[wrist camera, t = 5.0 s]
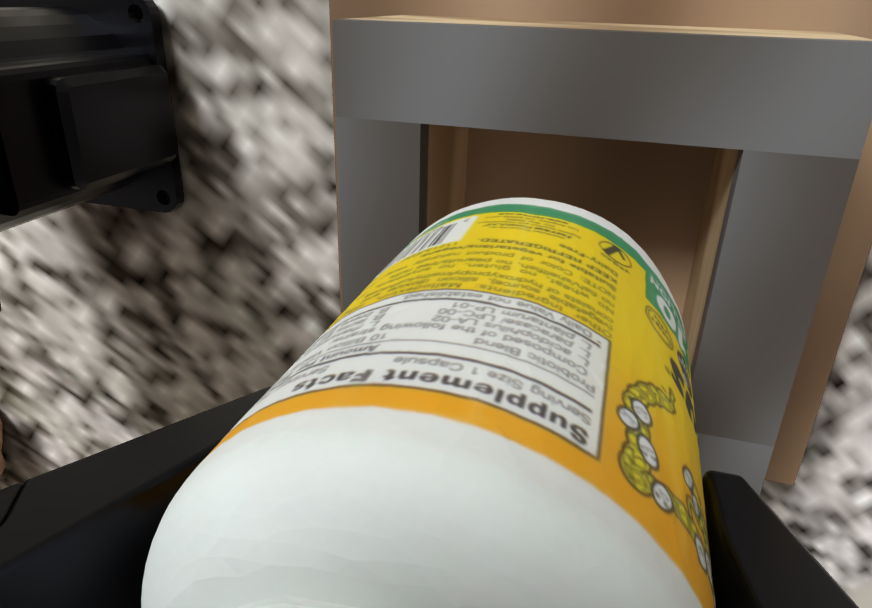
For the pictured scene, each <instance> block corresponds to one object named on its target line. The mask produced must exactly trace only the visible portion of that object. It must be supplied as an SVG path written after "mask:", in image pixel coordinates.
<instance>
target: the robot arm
mask: <svg viewBox="0 0 872 608" xmlns="http://www.w3.org/2000/svg"><path fill="white" fill-rule="evenodd" d="M138 7H140V8H141V9H142V12H143V19H142V21H141V20H140V18H139V16H138V14H137V10H138ZM165 191H166V192H167V193H168V194H169V197H170V201H169V200H168V199H167V198H166V197H165V194H164V193H165ZM82 202H89V203H96V204H104V205H112V206H119V207H127V208H135V209H143V210H150V211H158V212H172V211H174V210H176V209H178V208H180V207H181V206H182V205H183V203H184V191H183V184H182V177H181V169H180V162H179V155H178V145H177V138H176V131H175V123H174V116H173V109H172V101H171V94H170V87H169V79H168V74H167V67H166V60H165V53H164V45H163V38H162V31H161V24H160V16H159V12H158V8H157V6H156V4H155V3H154V1H153V0H0V232H1V231H4V230H6V229H9V228H12V227H15V226H18V225H20V224H23V223H26V222H29V221H32V220H34V219H37V218H40V217H43V216H46V215H48V214H51V213H54V212H57V211H60V210H62V209H65V208H68V207H71V206H74V205H76V204H79V203H82ZM0 311H1V304H0ZM271 387H272V386H271ZM271 387H267V388H265V389H262V390H260V391H257V392H254V393H252V394H249V395H247V396H244V397H241V398H239V399H236V400H234V401H231V402H229V403H226V404H223V405H221V406H218V407H216V408H213V409H210V410H208V411H205V412H203V413H200V414H197V415H195V416H192V417H190V418H187V419H184V420H182V421H179V422H177V423H174V424H171V425H169V426H166V427H164V428H161V429H158V430H156V431H153V432H151V433H148V434H146V435H143V436H140V437H138V438H135V439H133V440H130V441H127V442H125V443H122V444H120V445H117V446H114V447H112V448H109V449H107V450H104V451H101V452H99V453H96V454H94V455H91V456H88V457H86V458H83V459H81V460H78V461H75V462H73V463H70V464H68V465H65V466H63V467H60V468H57V469H55V470H52V471H50V472H47V473H44V474H42V475H39V476H37V477H34V478H31V479H29V480H27V481H26V482H25V484H24V485H23V484H22V483H18V484H15V485H13V486H10V487H8V488H5V489H3V490H0V608H141V596H142V583H143V577H144V571H145V565H146V561H147V558H148V554H149V551H150V547H151V543H152V540H153V538H154V536H155V533H156V531H157V529H158V526H159V524H160V522H161V519H162V517H163V515H164V513H165V511H166V509H167V507H168V505H169V504H170V502H171V501H172V499H173V497H174V496H175V494H176V493H177V492H178V490H179V489H180V488H181V486H182V485H183V483H184V482H185V481H186V480H187V478H188V477H189V476H190V475H191V473H192V472H193V471H194V470H195V469H196V467H197V466H198V465H199V464H200V463H201V462H202V461H203V460H204V459H205V458H206V457H207V456H208V454H209V453H210V452H211V451H212V450H213V449H214V448H215V447H216V446H217V445H218V444H219V443H220V442H221V440H222V439H223V438H224V437H225V436H226V435H227V434H228V433H229V432H230V430H231V429H232V428H233V427H234V426H235V425H236V424H237V423H238V422H239V421H240V420H241V418H242V417H243V416H244V415H245V414H246V413H247V412H248V411H249V410H250V409H251V408H252V407H253V406H254V405H255V404H256V403H257V402H258V401H259V400H260V399H261V398H262V396H263V395H264V394H265V393H266V392H267V391H268V390H269V389H270V388H271ZM702 485H703V494H704V503H705V513H706V523H707V534H708V543H709V551H710V559H711V570H712V581H713V587H714V594H715V602H716V608H859V607H858V606H857V605H856V604H855V603H854V602H853V600H852V599H851V598H850V597H849V596H848V595H847V594H846V593H845V591H844V590H843V589H842V588H841V587H840V586H839V585H838V584H837V582H836V581H835V580H834V579H833V578H832V577H831V576H830V575H829V573H828V572H827V571H826V570H825V569H824V568H823V567H822V566H821V564H820V563H819V562H818V561H817V560H816V559H815V558H814V557H813V555H812V554H811V553H810V552H809V551H808V550H807V549H806V548H805V546H804V545H803V544H802V543H801V542H800V541H799V540H798V539H797V537H796V536H795V535H794V534H793V533H792V532H791V531H790V530H789V528H788V527H787V526H786V525H785V524H784V523H783V522H782V521H781V519H780V518H779V517H778V516H777V515H776V514H775V513H774V512H773V510H772V509H771V508H770V507H769V506H768V505H767V504H766V503H765V501H764V500H763V499H762V498H761V497H760V496H759V495H758V494H757V492H756V491H755V490H754V489H753V488H752V487H751V486H750V484H749V483H748V482H747V481H746V480H745V479H744V478H743V477H741V476H739V475H735V474H729V473H724V472H719V471H714V470H709V471H707V472H706V473H705V474H704V476H703V478H702Z"/></svg>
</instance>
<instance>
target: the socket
mask: <svg viewBox="0 0 872 608" xmlns="http://www.w3.org/2000/svg"><path fill="white" fill-rule="evenodd" d="M329 8H330V35H331V62H332V88H333V115H334V142H335V169H336V195H337V222H338V249H339V276H340V302H341V314H342V313H343V312H344V311H345V310H346V309H347V308H348V306H349V305H350V304H351V303H352V302H353V301H354V300H355V299H356V298H357V297H358V296H359V295H360V294H361V293H362V292H363V291H364V289H365V288H366V287H367V286H368V285H369V284H370V283H371V282H372V281H373V280H374V279H375V277H376V276H377V275H378V274H379V273H380V272H381V271H382V270H383V269H384V268H385V267H386V266H387V265H388V264H389V263H390V262H391V261H392V260H393V259H394V258H395V257H396V256H397V255H398V254H399V253H400V252H401V251H402V250H403V249H404V248H405V247H406V246H407V245H408V244H409V243H410V242H411V241H412V240H413V239H414V238H416V237H417V236H418V235H419V234H420V233H422V232H423V231H424V230H425V229H426V228H428V227H429V226H431V225H432V224H433V223H435V222H436V221H438V220H440V219H442V218H443V217H445V216H447V215H449V214H451V213H453V212H455V211H457V210H459V209H462V208H465V207H468V206H471V205H474V204H478V203H482V202H486V201H491V200H497V199H504V198H536V199H543V200H550V201H556V202H561V203H565V204H569V205H572V206H575V207H578V208H581V209H584V210H586V211H589V212H591V213H593V214H595V215H598V216H600V217H602V218H604V219H605V220H607V221H609V222H611V223H612V224H614V225H615V226H617V227H618V228H619V229H621V230H622V231H624V232H625V233H626V234H628V235H629V236H630V237H631V238H632V239H633V240H634V241H635V242H636V243H637V244H638V245H639V246H640V247H641V248H642V249H643V250H644V251H645V252H646V254H647V255H648V256H649V258H650V259H651V260H652V261H653V263H654V264H655V266H656V267H657V269H658V270H659V272H660V273H661V275H662V277H663V279H664V280H665V282H666V284H667V286H668V288H669V290H670V292H671V294H672V296H673V298H674V300H675V302H676V304H677V306H678V309H679V312H680V315H681V318H682V321H683V324H684V330H685V336H686V341H687V345H688V353H689V366H690V373H691V384H692V393H693V402H694V412H695V421H696V429H697V435H698V441H699V456H700V467H701V476H702V478H703V476H704V474H705V473H706V472H707V471H709V470H714V471H719V472H724V473H729V474H735V475H739V476H741V477H743V478H744V479H745V480H746V481H747V482H748V483H749V484H750V486H751V487H752V488H753V489H754V490H755V491H756V492H757V494H758V495H759V496H760V492H761V489H762V486H763V482H764V480H769V481H774V482H779V483H784V484H789V485H794V483H795V480H796V477H797V474H798V471H799V468H800V465H801V462H802V458H803V455H804V452H805V449H806V446H807V443H808V440H809V437H810V434H811V431H812V428H813V424H814V421H815V418H816V415H817V412H818V409H819V406H820V403H821V400H822V397H823V394H824V390H825V387H826V384H827V381H828V378H829V375H830V372H831V369H832V366H833V363H834V360H835V356H836V353H837V350H838V347H839V344H840V341H841V338H842V335H843V332H844V329H845V326H846V322H847V319H848V316H849V313H850V310H851V307H852V304H853V301H854V298H855V295H856V292H857V288H858V285H859V282H860V279H861V276H862V273H863V270H864V267H865V264H866V261H867V258H868V254H869V251H870V248H871V245H872V0H329Z"/></svg>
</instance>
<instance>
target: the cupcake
mask: <svg viewBox="0 0 872 608" xmlns="http://www.w3.org/2000/svg"><path fill="white" fill-rule="evenodd" d="M1 449H2V422H1V419H0V475H1V474H2V472H3V471H4V468H5V466H6V463H5V459H4V457H3V455H2V452H1Z"/></svg>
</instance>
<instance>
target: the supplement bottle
mask: <svg viewBox="0 0 872 608" xmlns="http://www.w3.org/2000/svg"><path fill="white" fill-rule="evenodd" d="M141 608H716V602H715V594H714V587H713V581H712V570H711V559H710V551H709V543H708V534H707V523H706V513H705V503H704V494H703V485H702V476H701V467H700V456H699V441H698V435H697V429H696V421H695V412H694V402H693V393H692V384H691V373H690V366H689V353H688V345H687V341H686V336H685V330H684V324H683V321H682V318H681V315H680V312H679V309H678V306H677V304H676V302H675V300H674V298H673V296H672V294H671V292H670V290H669V288H668V286H667V284H666V282H665V280H664V279H663V277H662V275H661V273H660V272H659V270H658V269H657V267H656V266H655V264H654V263H653V261H652V260H651V259H650V258H649V256H648V255H647V254H646V252H645V251H644V250H643V249H642V248H641V247H640V246H639V245H638V244H637V243H636V242H635V241H634V240H633V239H632V238H631V237H630V236H629V235H628V234H626V233H625V232H624V231H622V230H621V229H619V228H618V227H617V226H615V225H614V224H612V223H611V222H609V221H607V220H605V219H604V218H602V217H600V216H598V215H595V214H593V213H591V212H589V211H586V210H584V209H581V208H578V207H575V206H572V205H569V204H565V203H561V202H556V201H550V200H543V199H536V198H504V199H497V200H491V201H486V202H482V203H478V204H474V205H471V206H468V207H465V208H462V209H459V210H457V211H455V212H453V213H451V214H449V215H447V216H445V217H443V218H442V219H440V220H438V221H436V222H435V223H433V224H432V225H431V226H429V227H428V228H426V229H425V230H424V231H423V232H422V233H420V234H419V235H418V236H417V237H416V238H414V239H413V240H412V241H411V242H410V243H409V244H408V245H407V246H406V247H405V248H404V249H403V250H402V251H401V252H400V253H399V254H398V255H397V256H396V257H395V258H394V259H393V260H392V261H391V262H390V263H389V264H388V265H387V266H386V267H385V268H384V269H383V270H382V271H381V272H380V273H379V274H378V275H377V276H376V277H375V279H374V280H373V281H372V282H371V283H370V284H369V285H368V286H367V287H366V288H365V289H364V291H363V292H362V293H361V294H360V295H359V296H358V297H357V298H356V299H355V300H354V301H353V302H352V303H351V304H350V305H349V306H348V308H347V309H346V310H345V311H344V312H343V313H342V314H341V315H340V316H339V317H338V318H337V319H336V320H335V321H334V322H333V324H332V325H331V326H330V327H329V328H328V329H327V330H326V331H325V332H324V333H323V334H322V335H321V336H320V337H319V338H318V339H317V340H316V341H315V342H314V343H313V344H312V345H311V346H310V347H309V348H308V349H307V350H306V351H305V353H304V354H303V355H302V356H301V357H300V358H299V359H298V360H297V361H296V362H295V363H294V364H293V365H292V366H291V367H290V368H289V370H288V371H287V372H286V373H285V374H284V375H283V376H282V377H281V378H280V379H279V380H278V381H277V382H276V383H275V384H274V385H273V386H272V387H271V388H270V389H269V390H268V391H267V392H266V393H265V394H264V395H263V396H262V398H261V399H260V400H259V401H258V402H257V403H256V404H255V405H254V406H253V407H252V408H251V409H250V410H249V411H248V412H247V413H246V414H245V415H244V416H243V417H242V418H241V420H240V421H239V422H238V423H237V424H236V425H235V426H234V427H233V428H232V429H231V430H230V432H229V433H228V434H227V435H226V436H225V437H224V438H223V439H222V440H221V442H220V443H219V444H218V445H217V446H216V447H215V448H214V449H213V450H212V451H211V452H210V453H209V454H208V456H207V457H206V458H205V459H204V460H203V461H202V462H201V463H200V464H199V465H198V466H197V467H196V469H195V470H194V471H193V472H192V473H191V475H190V476H189V477H188V478H187V480H186V481H185V482H184V483H183V485H182V486H181V488H180V489H179V490H178V492H177V493H176V494H175V496H174V497H173V499H172V501H171V502H170V504H169V505H168V507H167V509H166V511H165V513H164V515H163V517H162V519H161V522H160V524H159V526H158V529H157V531H156V533H155V536H154V538H153V540H152V543H151V547H150V551H149V554H148V558H147V561H146V565H145V571H144V577H143V583H142V596H141Z"/></svg>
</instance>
